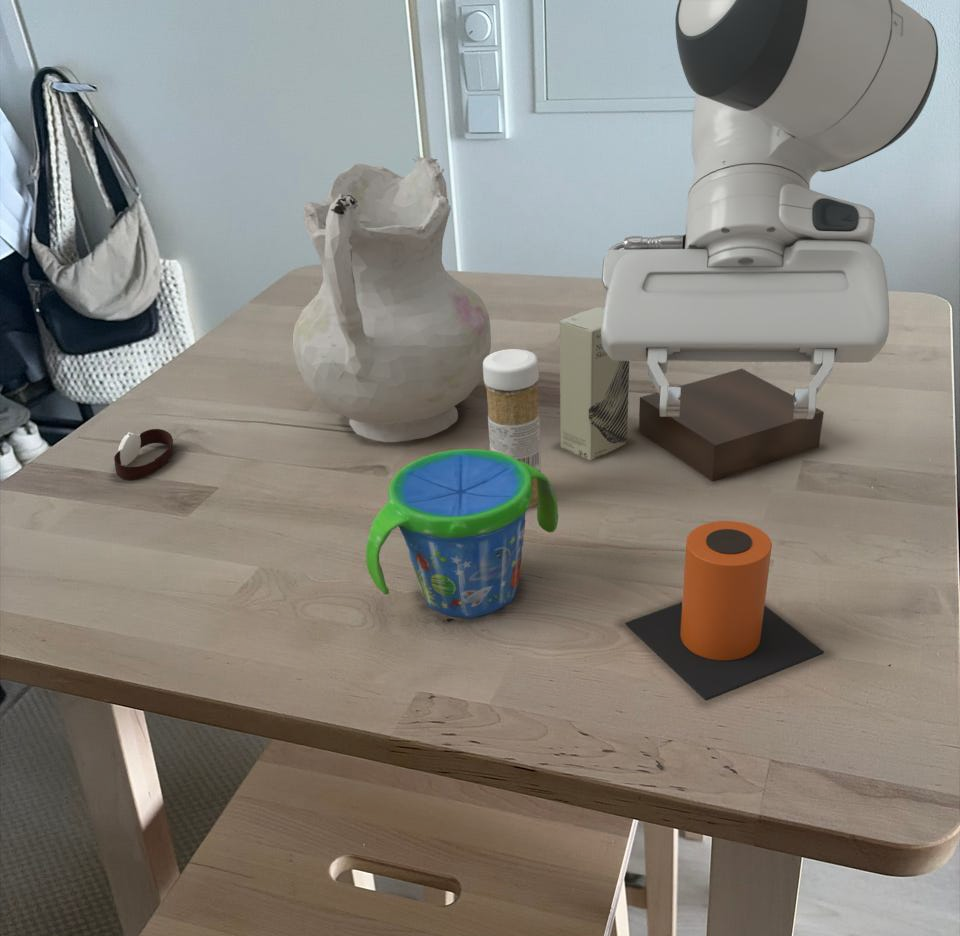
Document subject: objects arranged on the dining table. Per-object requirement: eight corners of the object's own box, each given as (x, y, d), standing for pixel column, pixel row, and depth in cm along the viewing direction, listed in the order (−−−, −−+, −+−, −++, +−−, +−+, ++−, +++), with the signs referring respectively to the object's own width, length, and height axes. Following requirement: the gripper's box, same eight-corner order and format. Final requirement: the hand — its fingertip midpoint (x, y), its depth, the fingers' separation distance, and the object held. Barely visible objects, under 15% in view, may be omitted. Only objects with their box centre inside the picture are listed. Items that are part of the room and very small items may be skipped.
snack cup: (400, 661, 75) (382, 543, 69) (355, 589, 83) (336, 477, 77) (589, 601, 79) (589, 485, 73) (529, 538, 87) (525, 428, 81)
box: (590, 465, 97) (590, 331, 89) (558, 450, 100) (556, 319, 92) (630, 446, 99) (633, 315, 91) (598, 432, 102) (598, 303, 94)
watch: (149, 447, 106) (139, 414, 104) (188, 451, 105) (180, 418, 103) (106, 483, 100) (95, 449, 98) (147, 487, 99) (137, 453, 97)
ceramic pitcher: (491, 482, 98) (496, 206, 83) (285, 480, 97) (253, 203, 82) (488, 388, 115) (492, 146, 100) (313, 387, 115) (291, 144, 100)
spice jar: (534, 485, 94) (529, 343, 86) (549, 508, 91) (545, 363, 83) (486, 494, 94) (476, 352, 86) (499, 518, 90) (490, 372, 82)
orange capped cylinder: (728, 605, 77) (737, 511, 72) (776, 644, 73) (789, 548, 68) (665, 628, 75) (669, 533, 70) (711, 670, 71) (719, 573, 66)
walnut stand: (738, 405, 105) (742, 368, 102) (818, 451, 96) (824, 411, 93) (638, 435, 101) (639, 397, 98) (711, 486, 92) (715, 445, 90)
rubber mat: (735, 588, 79) (735, 582, 79) (823, 658, 72) (824, 651, 72) (624, 628, 76) (624, 622, 76) (705, 705, 69) (705, 699, 69)
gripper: (602, 215, 75) (588, 397, 73) (898, 209, 71) (891, 402, 69) (607, 258, 81) (595, 427, 80) (880, 254, 77) (873, 432, 76)
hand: (735, 415), depth 74 cm, fingers open, 8 cm apart
